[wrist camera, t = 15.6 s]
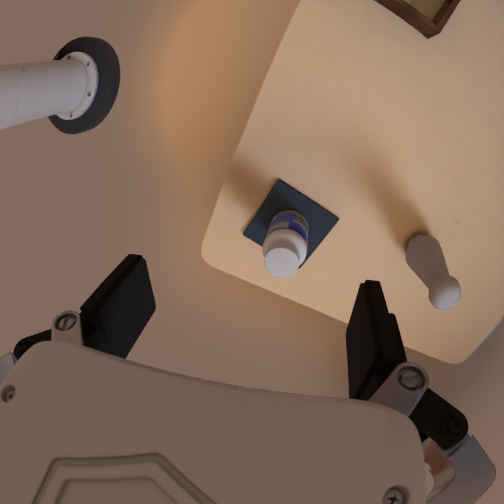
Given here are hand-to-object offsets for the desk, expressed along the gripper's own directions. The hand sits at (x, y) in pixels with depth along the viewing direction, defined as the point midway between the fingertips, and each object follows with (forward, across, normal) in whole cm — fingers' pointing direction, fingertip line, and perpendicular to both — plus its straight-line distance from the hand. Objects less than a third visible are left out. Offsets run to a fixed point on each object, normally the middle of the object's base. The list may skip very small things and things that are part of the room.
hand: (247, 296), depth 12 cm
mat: (+28, -1, +10) cm, 30 cm away
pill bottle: (+28, -1, +10) cm, 30 cm away
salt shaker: (+28, -21, +11) cm, 36 cm away
